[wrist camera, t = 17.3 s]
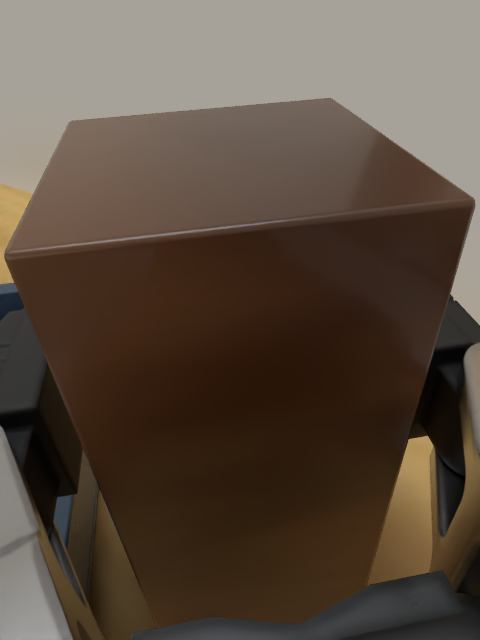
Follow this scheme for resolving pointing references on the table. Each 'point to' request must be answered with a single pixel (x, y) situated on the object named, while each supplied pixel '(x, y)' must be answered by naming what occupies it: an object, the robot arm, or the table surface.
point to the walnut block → (241, 340)
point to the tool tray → (73, 510)
